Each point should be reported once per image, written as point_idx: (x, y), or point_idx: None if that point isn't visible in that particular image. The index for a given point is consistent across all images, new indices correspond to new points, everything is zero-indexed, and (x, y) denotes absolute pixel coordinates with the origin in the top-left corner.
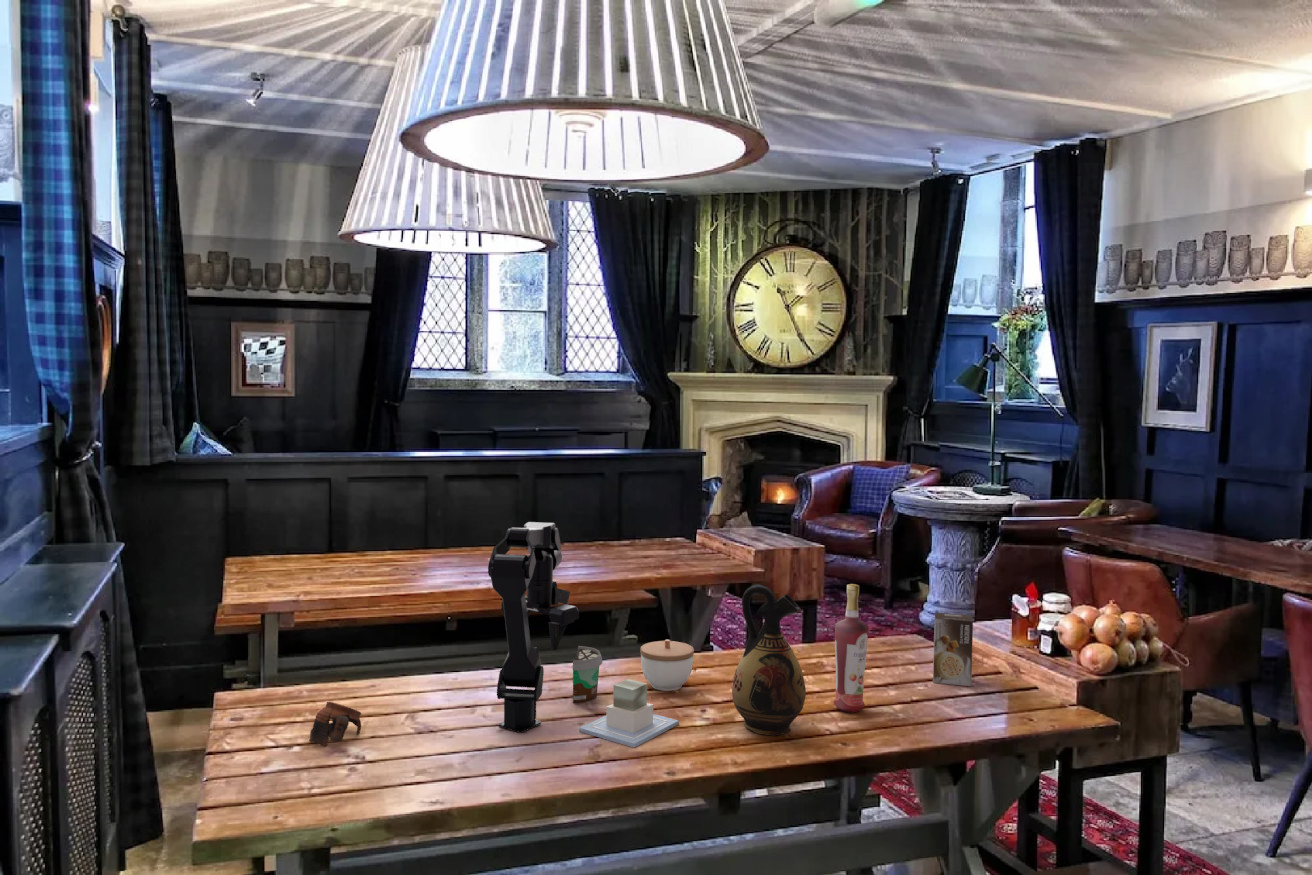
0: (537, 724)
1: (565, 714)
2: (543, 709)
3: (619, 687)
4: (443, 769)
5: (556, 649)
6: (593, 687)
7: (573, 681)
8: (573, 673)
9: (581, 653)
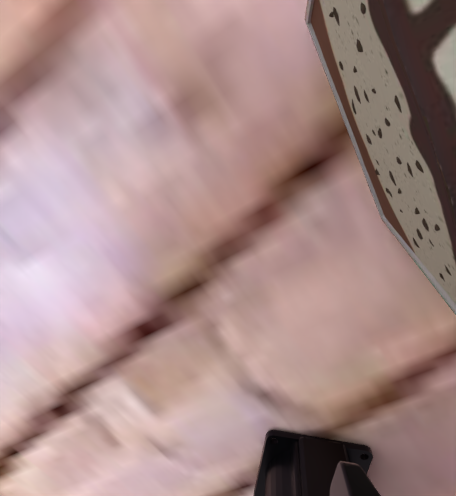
0: (368, 465)
1: (410, 341)
2: (301, 334)
3: None
4: None
5: (356, 467)
6: None
7: (428, 273)
8: (452, 304)
9: (442, 14)
